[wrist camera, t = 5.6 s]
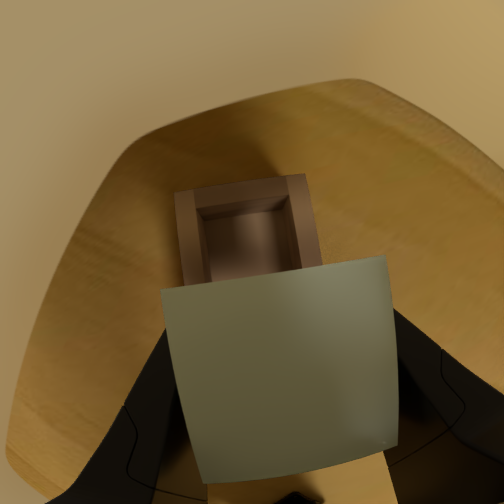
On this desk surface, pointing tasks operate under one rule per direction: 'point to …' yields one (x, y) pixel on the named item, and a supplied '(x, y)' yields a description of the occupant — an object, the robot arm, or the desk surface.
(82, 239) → the desk surface
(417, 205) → the desk surface
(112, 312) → the desk surface
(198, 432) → the clay bar
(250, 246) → the wooden channel cradle
